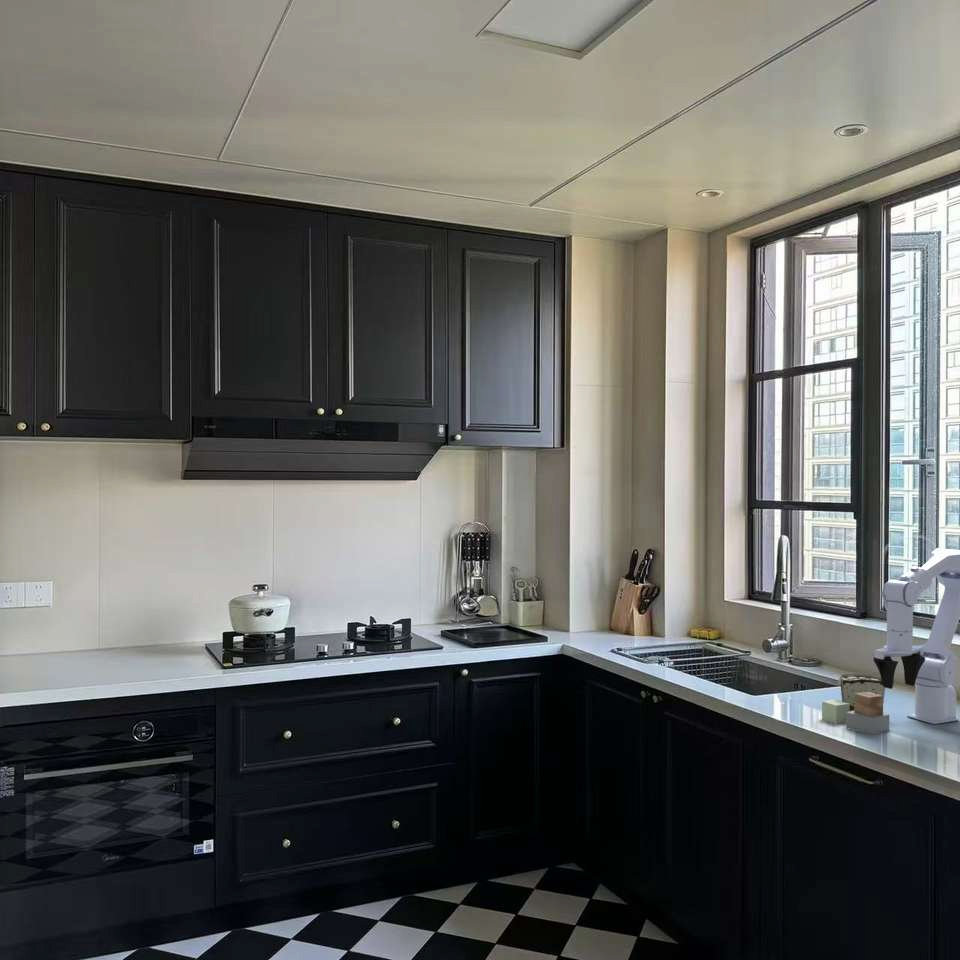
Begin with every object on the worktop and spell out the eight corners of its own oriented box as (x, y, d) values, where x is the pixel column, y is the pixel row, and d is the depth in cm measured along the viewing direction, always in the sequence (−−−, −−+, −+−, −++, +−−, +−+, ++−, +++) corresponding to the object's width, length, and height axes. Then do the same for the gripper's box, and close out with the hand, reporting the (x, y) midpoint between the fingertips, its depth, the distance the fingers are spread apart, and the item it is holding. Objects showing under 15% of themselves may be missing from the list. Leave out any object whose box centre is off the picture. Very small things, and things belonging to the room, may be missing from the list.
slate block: (861, 724, 223) (861, 708, 223) (889, 731, 218) (889, 714, 218) (846, 729, 219) (846, 712, 219) (873, 735, 213) (873, 718, 213)
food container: (876, 711, 235) (876, 672, 235) (887, 717, 229) (888, 677, 229) (829, 711, 235) (829, 672, 235) (839, 717, 229) (839, 677, 229)
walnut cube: (868, 710, 221) (868, 691, 221) (883, 714, 217) (883, 695, 217) (854, 711, 220) (854, 693, 220) (869, 716, 215) (869, 697, 215)
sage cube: (835, 717, 229) (835, 699, 229) (849, 721, 225) (849, 703, 225) (821, 719, 227) (822, 701, 227) (836, 723, 223) (836, 705, 223)
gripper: (906, 625, 227) (905, 680, 227) (864, 629, 220) (863, 685, 220) (931, 630, 220) (930, 686, 220) (889, 634, 214) (888, 691, 214)
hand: (898, 686), depth 220 cm, fingers open, 7 cm apart
